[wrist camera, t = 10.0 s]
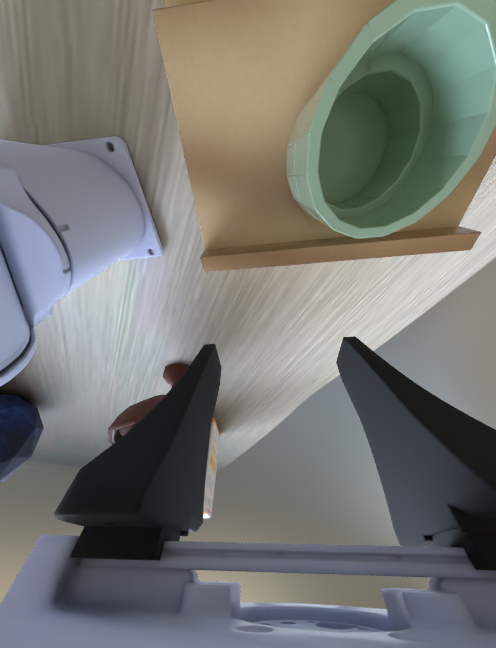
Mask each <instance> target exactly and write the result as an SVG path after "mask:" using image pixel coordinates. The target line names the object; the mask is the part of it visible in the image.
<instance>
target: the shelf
mask: <svg viewBox="0 0 496 648" xmlns="http://www.w3.org/2000/svg"><path fill="white" fill-rule="evenodd" d="M393 1H394V0H164V3H165V8H159V9H154V10H153V17H154V21H155V26H156V30H157V35H158V39H159V44H160V48H161V53H162V57H163V62H164V66H165V71H166V76H167V80H168V85H169V89H170V94H171V98H172V103H173V107H174V112H175V116H176V121H177V125H178V130H179V134H180V139H181V143H182V148H183V152H184V157H185V161H186V166H187V170H188V175H189V179H190V184H191V188H192V193H193V197H194V202H195V206H196V211H197V215H198V220H199V224H200V229H201V233H202V238H203V243H204V247H205V251H204V252H203V254H202V256H201V262H202V266H203V270H204V272H214V271H226V270H238V269H250V268H262V267H273V266H285V265H297V264H309V263H321V262H333V261H345V260H357V259H369V258H380V257H392V256H404V255H416V254H428V253H440V252H452V251H464V250H471V248H472V247H473V245H474V243H475V242H476V240H477V238H478V237H479V235H480V234H481V232H479V231H475V230H471V229H467V228H463V227H459V224H460V222H461V220H462V218H463V216H464V214H465V212H466V210H467V209H468V207H469V205H470V203H471V201H472V199H473V197H474V195H475V193H476V191H477V190H478V188H479V186H480V184H481V182H482V180H483V178H484V176H485V174H486V173H487V171H488V169H489V167H490V165H491V163H492V161H493V159H494V157H495V156H496V125H495V127H494V129H493V131H492V133H491V135H490V137H489V140H488V142H487V144H486V146H485V148H484V150H483V152H482V154H481V155H480V156H479V159H478V160H477V161H476V162H475V164H474V165H473V166H472V167H471V169H470V170H469V171H468V172H467V174H466V175H465V176H464V177H463V179H462V180H461V181H460V182H459V184H458V185H457V186H456V187H455V189H454V190H453V191H452V192H451V194H450V195H448V197H447V198H445V199H444V200H443V201H442V202H440V203H439V204H438V205H437V206H435V207H434V208H433V209H432V210H430V211H429V212H428V213H427V214H426V215H424V216H423V217H422V218H421V219H419V220H418V221H416V222H415V223H413V224H411V225H408V226H406V227H404V228H402V229H400V230H397V231H395V232H393V233H391V234H389V235H386V236H382V237H371V238H360V239H357V238H353V237H350V236H347V235H344V234H342V233H339V232H336V231H334V230H332V229H331V228H329V227H328V226H326V225H325V224H323V223H322V222H320V221H319V220H317V219H316V218H314V217H313V216H311V215H310V214H308V213H307V212H305V211H304V209H303V208H302V207H301V206H300V205H299V204H298V203H297V201H296V200H295V199H294V197H293V195H292V192H291V189H290V186H289V182H288V179H287V174H286V170H287V148H288V143H289V140H290V137H291V134H292V130H293V127H294V124H295V121H296V118H297V117H298V115H299V112H300V111H301V110H302V108H303V107H304V105H305V104H306V102H307V101H308V99H309V98H310V96H311V95H312V93H313V92H314V90H315V89H316V88H317V86H318V85H319V84H320V82H321V81H322V80H323V79H324V77H325V76H326V75H327V73H328V72H329V71H330V69H331V68H332V67H333V65H334V64H335V63H336V61H337V60H338V59H339V57H340V56H341V55H342V53H343V52H344V51H345V50H346V48H347V47H348V46H349V44H350V43H351V42H352V40H353V39H354V38H355V36H356V35H357V34H358V32H359V31H360V30H361V29H362V27H363V26H364V25H365V24H366V23H367V22H368V20H369V19H371V18H372V17H373V16H374V15H376V14H377V13H378V12H380V11H381V10H382V9H384V8H385V7H386V6H387V5H389V4H390V3H391V2H393Z"/></svg>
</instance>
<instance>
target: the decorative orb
mask: <svg viewBox="0 0 496 648" xmlns="http://www.w3.org/2000/svg"><path fill="white" fill-rule="evenodd" d="M42 431H43V424H42V421H41V418H40V415H39V412H38V409H37V408H36V407H34V406H32V405H31V404H29V403H28V402H26V401H24V400H23V399H21V398H19V397H18V396H16V395H0V483H2V482H4V481H5V480H7V479H8V478H9V477H10V476H11V475H12V474H13V473H14V472H15V471H16V470H17V469H18V468H19V467H20V466H22V465H23V464H24V463H25V462H26V461H27V460H28V459H29V458H30V457H31V456H32V454H33V452H34V449H35V447H36V445H37V442H38V440H39V438H40V435H41V433H42Z"/></svg>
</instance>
